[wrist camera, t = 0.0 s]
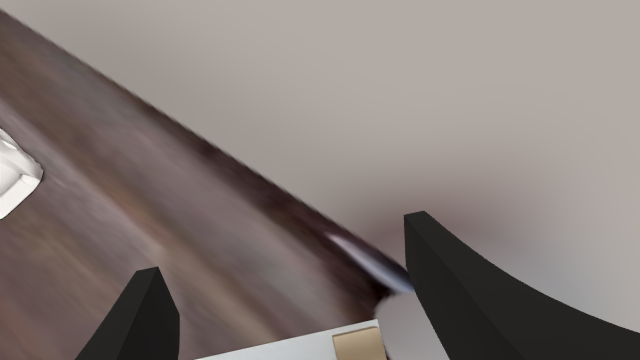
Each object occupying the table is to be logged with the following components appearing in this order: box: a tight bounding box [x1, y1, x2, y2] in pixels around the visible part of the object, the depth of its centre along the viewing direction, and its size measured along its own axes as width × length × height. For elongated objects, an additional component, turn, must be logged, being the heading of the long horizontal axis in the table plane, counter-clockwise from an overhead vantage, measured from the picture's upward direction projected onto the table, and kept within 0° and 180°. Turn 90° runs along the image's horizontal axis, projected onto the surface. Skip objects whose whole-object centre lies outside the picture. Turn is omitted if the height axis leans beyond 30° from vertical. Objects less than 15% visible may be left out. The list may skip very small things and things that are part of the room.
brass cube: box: [332, 326, 386, 360], centre depth 41 cm, size 4×4×4 cm
